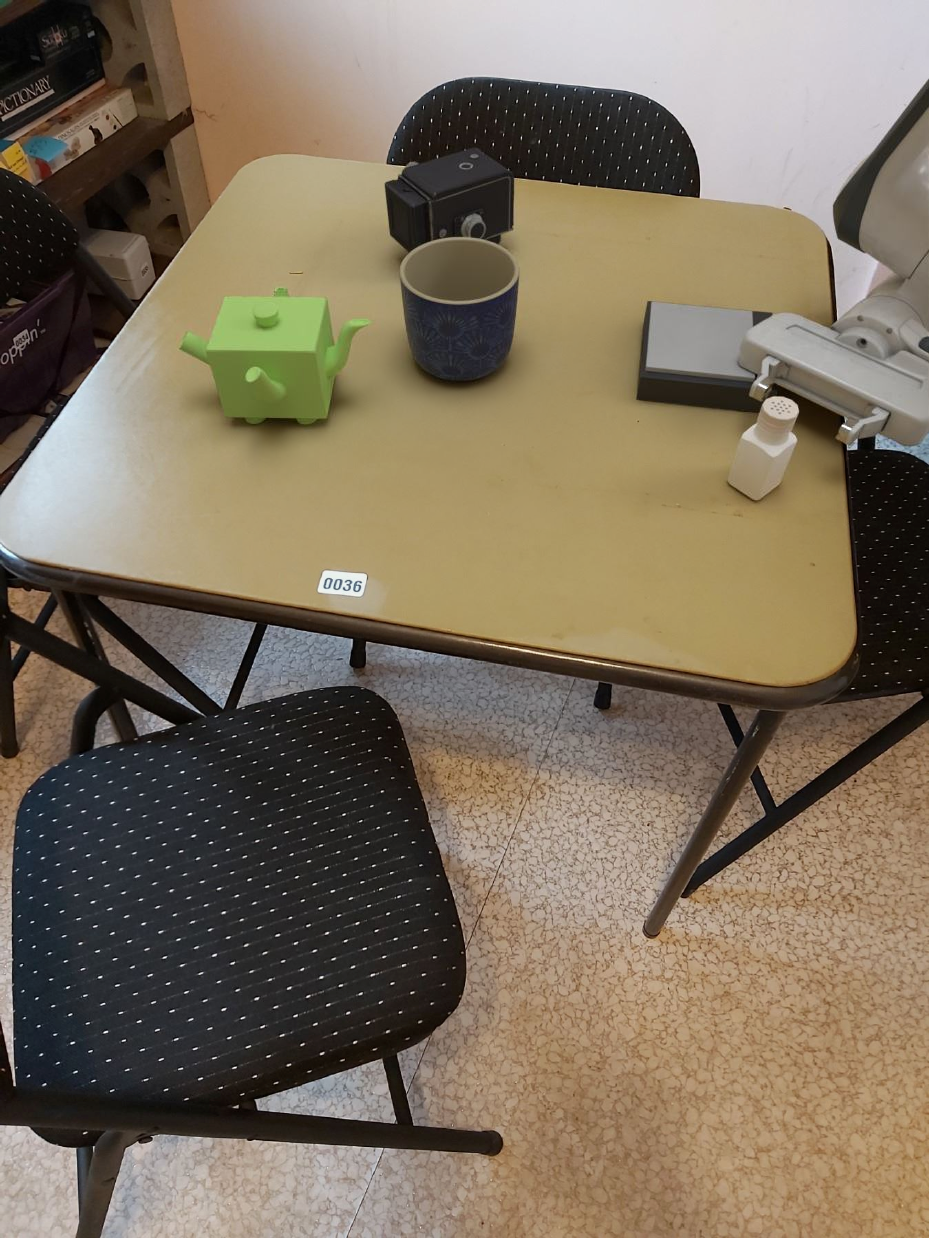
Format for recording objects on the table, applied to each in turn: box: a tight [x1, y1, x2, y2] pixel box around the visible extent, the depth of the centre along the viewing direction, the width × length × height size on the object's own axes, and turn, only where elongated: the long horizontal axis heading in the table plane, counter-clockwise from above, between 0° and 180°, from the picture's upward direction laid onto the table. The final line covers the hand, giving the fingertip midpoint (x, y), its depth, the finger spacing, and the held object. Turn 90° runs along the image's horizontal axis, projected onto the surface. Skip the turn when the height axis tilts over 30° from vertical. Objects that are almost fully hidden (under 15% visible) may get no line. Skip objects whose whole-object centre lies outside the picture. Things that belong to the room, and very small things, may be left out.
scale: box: [636, 300, 778, 414], centre depth 92 cm, size 14×14×4 cm
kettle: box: [178, 286, 372, 425], centre depth 86 cm, size 15×14×11 cm
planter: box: [398, 237, 521, 382], centre depth 90 cm, size 12×12×11 cm
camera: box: [384, 147, 515, 254], centre depth 103 cm, size 11×11×15 cm
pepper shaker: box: [727, 395, 800, 501], centre depth 79 cm, size 4×4×10 cm
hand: (799, 414), depth 80 cm, fingers open, 8 cm apart
